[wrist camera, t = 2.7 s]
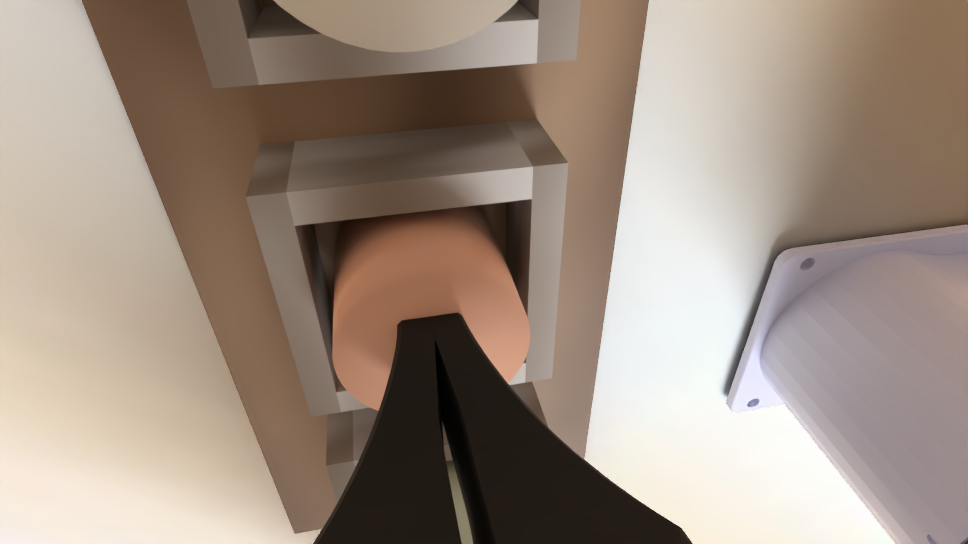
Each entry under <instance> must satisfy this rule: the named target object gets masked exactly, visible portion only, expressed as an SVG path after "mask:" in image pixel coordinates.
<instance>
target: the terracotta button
mask: <svg viewBox="0 0 968 544" xmlns="http://www.w3.org/2000/svg"><path fill="white" fill-rule="evenodd" d="M457 312H458V313H459V314H461V315H462V316H463V318H464V320H465V322H466V324H467V325H468V327H469V329H470V331H471V332H472V334H473V336H474V337H475V339H476V341H477V342H478V344H479V345H480V347H481V348H482V350H483V351H484V353H485V354H486V355H487V357H488V358H489V360H490V361H491V362H492V364H493V365H494V366H495V368H496V369H497V370H498V371H499V373H500V374H501V375H502V377H503V378H504V379H505V381H506V382H507V383H509V382H510V381H511V380H512V378H513V377H514V376H515V375H516V374H517V372H518V371H519V369H520V367H521V366H522V364H523V362H524V360H525V358H526V356H527V352H528V349H529V345H530V325H529V321H528V317H527V315H526V312H525V310H524V307H523V305H522V302H521V300H520V297H519V294H518V292H517V289H516V287H515V284H514V282H513V279H512V277H511V274H510V271H509V269H508V266H507V264H506V261H505V259H504V256H503V254H502V251H501V248H500V246H499V243H498V241H497V238H496V236H495V233H494V231H493V228H492V226H491V223H490V221H489V219H488V218H487V216H486V215H485V213H484V212H483V211H482V210H481V208H480V207H479V206H478V205H475V206H466V207H457V208H448V209H439V210H431V211H422V212H413V213H404V214H395V215H386V216H377V217H369V218H360V219H351V220H346V221H345V222H344V224H343V226H342V228H341V230H340V232H339V235H338V237H337V241H336V246H335V267H334V308H333V349H332V358H333V365H334V369H335V371H336V374H337V377H338V378H339V380H340V382H341V384H342V385H343V386H344V387H345V389H346V390H347V391H348V392H349V393H350V394H351V395H352V396H353V397H354V398H355V399H357V400H358V401H360V402H361V403H363V404H364V405H366V406H368V407H370V408H372V409H375V410H377V411H379V408H380V405H381V402H382V399H383V396H384V393H385V389H386V386H387V382H388V378H389V375H390V371H391V367H392V363H393V358H394V353H395V347H396V340H397V325H398V324H399V323H400V322H401V321H402V320H408V319H415V318H422V317H429V316H436V315H443V314H450V313H457Z"/></svg>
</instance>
